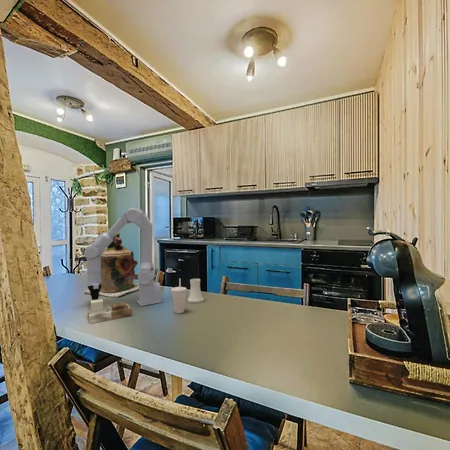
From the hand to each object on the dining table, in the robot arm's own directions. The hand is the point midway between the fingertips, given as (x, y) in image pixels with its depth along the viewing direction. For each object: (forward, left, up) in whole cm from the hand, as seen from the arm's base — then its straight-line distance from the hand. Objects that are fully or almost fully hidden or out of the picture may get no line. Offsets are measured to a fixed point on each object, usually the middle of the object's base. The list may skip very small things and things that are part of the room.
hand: (95, 301), depth 126 cm
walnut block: (-7, +19, -2) cm, 20 cm away
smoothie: (-29, +31, -2) cm, 42 cm away
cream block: (0, +9, -2) cm, 9 cm away
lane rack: (-4, +20, -2) cm, 20 cm away
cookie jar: (-13, -22, -2) cm, 25 cm away
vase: (-41, +20, -2) cm, 46 cm away
